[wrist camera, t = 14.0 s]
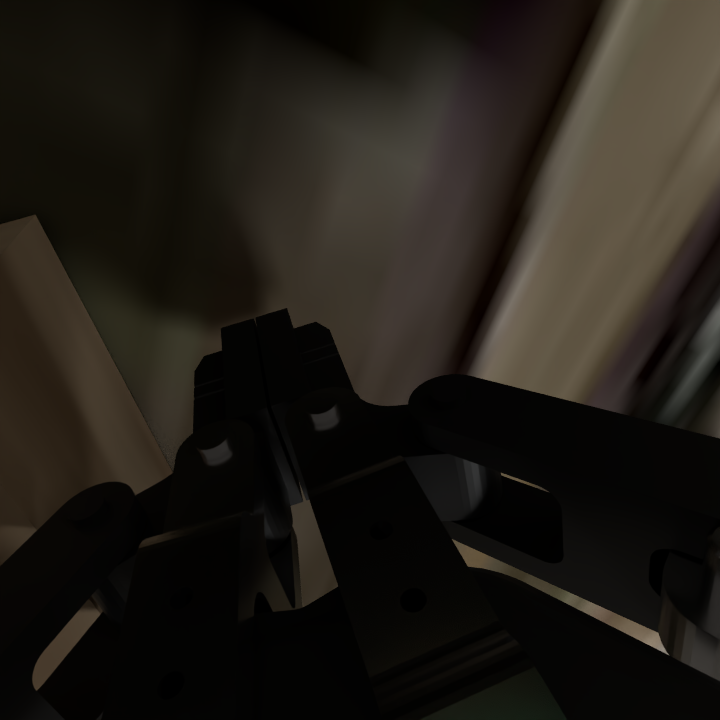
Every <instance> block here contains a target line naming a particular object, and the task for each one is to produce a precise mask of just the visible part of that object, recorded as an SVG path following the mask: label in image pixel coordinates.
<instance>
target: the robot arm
mask: <svg viewBox="0 0 720 720" xmlns="http://www.w3.org/2000/svg"><path fill="white" fill-rule="evenodd" d="M256 324H257V326H256ZM221 339H222V351H219V352H216V353H213V354H210V355H206V356H204V357H203V359H202V360H201V362H200V364H199V365H198V367H197V368H196V370H195V375H194V386H195V388H194V398H195V400H194V416H193V434H191V435H190V436H189V437H188V438H187V439H186V440H185V441H184V442H183V443H182V445H181V446H180V447H179V449H178V451H177V454H176V459H175V465H174V470H173V473H172V474H171V475H169V476H168V477H166V478H165V479H163V480H162V481H160V482H158V483H156V484H155V485H153V486H151V487H149V488H147V489H146V490H144V491H142V492H140V493H138V494H137V495H135V493H134V492H133V490H132V489H131V487H130V486H129V485H127V484H125V483H122V482H116V481H115V482H105V483H101V484H97V485H94V486H92V487H89V488H87V489H85V490H83V491H81V492H80V493H78V494H77V495H75V496H74V497H72V498H71V499H69V500H68V501H67V502H66V503H65V504H64V505H63V506H61V507H60V508H59V509H58V510H57V511H56V512H55V513H54V514H53V515H52V516H51V517H50V518H49V519H48V520H47V521H46V522H45V523H44V524H43V525H42V526H41V527H40V528H39V529H38V530H37V531H36V532H35V533H34V534H33V535H32V536H31V537H30V538H29V539H28V540H27V541H25V542H24V543H23V544H22V545H21V546H20V547H19V548H18V549H17V550H16V551H15V552H14V553H13V554H12V555H11V556H10V557H9V558H8V559H7V560H6V561H5V562H4V563H3V564H2V565H1V566H0V720H720V439H719V438H715V437H711V436H707V435H703V434H699V433H695V432H691V431H687V430H683V429H680V428H676V427H672V426H668V425H664V424H660V423H656V422H652V421H648V420H644V419H640V418H636V417H632V416H628V415H624V414H620V413H616V412H612V411H608V410H604V409H600V408H596V407H592V406H588V405H584V404H580V403H576V402H572V401H568V400H564V399H560V398H556V397H552V396H548V395H544V394H540V393H536V392H532V391H528V390H524V389H520V388H516V387H512V386H508V385H504V384H500V383H496V382H492V381H488V380H484V379H480V378H476V377H472V376H468V375H460V374H450V375H443V376H439V377H435V378H433V379H430V380H428V381H426V382H424V383H423V384H421V385H419V386H418V387H417V388H416V389H415V390H414V391H413V392H412V394H411V396H410V398H409V401H408V405H398V406H379V405H374V404H370V403H367V402H365V401H363V400H362V399H360V397H359V396H358V394H356V393H355V392H354V390H353V387H352V385H351V382H350V380H349V377H348V375H347V372H346V370H345V367H344V365H343V362H342V360H341V357H340V355H339V353H338V350H337V347H336V345H335V343H334V340H333V337H332V335H331V332H330V330H329V329H327V328H326V327H324V326H322V325H321V324H319V323H317V322H314V323H310V324H307V325H304V326H301V327H297V328H293V325H292V322H291V319H290V316H289V313H288V310H287V308H285V309H282V310H279V311H276V312H272V313H269V314H266V315H262V316H259V317H256V323H255V321H254V319H249V320H246V321H243V322H240V323H236V324H233V325H230V326H226V327H223V328H221ZM501 473H504V474H507V475H510V476H512V477H515V478H518V479H521V480H524V481H527V482H529V483H532V484H535V485H538V486H540V487H542V488H544V489H546V490H547V491H549V492H550V493H549V492H546V491H543V490H540V489H538V488H535V487H532V486H529V485H526V484H524V483H521V482H518V481H515V480H512V479H509V478H507V477H504V476H501ZM299 482H300V484H299ZM300 485H301V487H302V490H303V493H304V495H305V498H306V500H310V503H311V506H312V509H313V512H314V515H315V518H316V521H317V524H318V527H319V530H320V533H321V536H322V539H323V542H324V545H325V548H326V550H327V553H328V556H329V559H330V562H331V565H332V568H333V571H334V574H335V577H336V580H337V583H338V587H337V588H335V589H333V590H332V591H330V592H328V593H327V594H325V595H324V596H322V597H320V598H319V599H317V600H315V601H314V602H312V603H310V604H309V605H307V606H305V607H303V605H302V593H301V580H300V568H299V556H298V543H297V536H296V534H295V531H294V529H293V526H292V524H293V519H292V513H291V507H290V506H291V505H294V504H298V503H301V502H303V499H302V494H301V489H300ZM452 539H453V540H456V541H458V542H460V543H462V544H464V545H467V546H469V547H471V548H473V549H475V550H478V551H480V552H482V553H484V554H486V555H489V556H491V557H493V558H495V559H497V560H500V561H502V562H504V563H506V564H508V565H511V566H513V567H515V568H517V569H519V570H522V571H524V572H526V573H528V574H530V575H533V576H535V577H537V578H539V579H541V580H544V581H546V582H548V583H550V584H552V585H555V586H557V587H559V588H561V589H563V590H566V591H568V592H570V593H572V594H574V595H577V596H579V597H581V598H583V599H585V600H588V601H590V602H592V603H594V604H596V605H599V606H601V607H603V608H605V609H607V610H610V611H612V612H614V613H616V614H618V615H621V616H623V617H625V618H627V619H629V620H632V621H634V622H636V623H638V624H640V625H643V626H645V627H647V628H649V629H651V630H654V631H656V632H658V633H659V636H660V639H661V642H662V644H663V646H664V648H665V650H666V651H667V653H668V654H669V655H670V656H669V655H667V654H665V653H663V652H661V651H659V650H657V649H655V648H653V647H651V646H649V645H647V644H645V643H643V642H641V641H639V640H637V639H635V638H633V637H631V636H629V635H628V634H626V633H624V632H622V631H620V630H618V629H616V628H614V627H612V626H610V625H608V624H606V623H604V622H602V621H600V620H598V619H596V618H594V617H592V616H590V615H588V614H586V613H584V612H582V611H580V610H578V609H576V608H574V607H572V606H570V605H568V604H566V603H564V602H562V601H560V600H558V599H556V598H554V597H552V596H550V595H548V594H546V593H544V592H542V591H540V590H538V589H536V588H534V587H533V586H531V585H529V584H527V583H525V582H522V581H520V580H518V579H516V578H513V577H511V576H508V575H505V574H502V573H499V572H495V571H491V570H487V569H482V568H474V567H468V566H467V564H466V563H465V561H464V559H463V558H462V556H461V554H460V553H459V551H458V549H457V547H456V546H455V544H454V542H453V541H452ZM91 596H92V598H93V599H94V600H95V602H96V603H97V604H98V605H99V607H100V608H101V609H102V611H103V612H102V613H101V614H100V615H99V617H98V618H97V619H96V620H95V622H94V623H93V624H92V625H91V626H90V628H89V629H88V630H87V631H86V632H85V634H84V635H83V636H82V637H81V639H80V640H79V641H78V642H77V643H76V645H75V646H74V647H73V648H72V649H71V651H70V652H69V653H68V654H67V656H66V657H65V658H64V659H63V660H62V662H61V663H60V664H59V665H58V667H57V668H56V669H55V670H54V671H53V673H52V674H51V675H50V676H49V677H48V679H47V680H46V681H45V682H44V684H43V685H42V686H41V687H40V688H39V689H38V690H37V691H36V689H35V688H34V686H33V681H32V678H33V671H34V668H35V665H36V663H37V661H38V659H39V657H40V656H41V654H42V653H43V652H44V650H45V649H46V648H47V647H48V646H49V645H50V643H51V642H52V641H53V640H54V639H55V638H56V636H57V635H58V634H59V633H60V632H61V631H62V629H63V628H64V627H65V626H66V625H67V624H68V622H69V621H70V620H71V619H72V618H73V617H74V615H75V614H76V613H77V612H78V611H79V610H80V608H81V607H82V606H83V605H84V604H85V603H86V601H87V600H88V599H89V598H90V597H91Z"/></svg>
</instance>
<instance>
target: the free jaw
mask: <svg viewBox="0 0 720 720" xmlns="http://www.w3.org/2000/svg"><path fill="white" fill-rule="evenodd" d="M172 473H173V472H172V470H171V468H170V466H169V465H168V463H167V461H166V459H165V457H164V455H163V453H162V451H161V450H160V448H159V446H158V444H157V442H156V440H155V438H154V436H153V435H152V433H151V431H150V429H149V427H148V425H147V423H146V421H145V420H144V418H143V416H142V414H141V412H140V410H139V408H138V406H137V404H136V403H135V401H134V399H133V397H132V395H131V393H130V391H129V389H128V388H127V386H126V384H125V382H124V380H123V378H122V376H121V374H120V373H119V371H118V369H117V367H116V365H115V363H114V361H113V359H112V358H111V356H110V354H109V352H108V350H107V348H106V346H105V344H104V342H103V341H102V339H101V337H100V335H99V333H98V331H97V329H96V327H95V326H94V324H93V322H92V320H91V318H90V316H89V314H88V312H87V311H86V309H85V307H84V305H83V303H82V301H81V299H80V297H79V296H78V294H77V292H76V290H75V288H74V286H73V284H72V282H71V280H70V279H69V277H68V275H67V273H66V271H65V269H64V267H63V265H62V264H61V262H60V260H59V258H58V256H57V254H56V252H55V250H54V249H53V247H52V245H51V243H50V241H49V239H48V237H47V235H46V234H45V232H44V230H43V228H42V226H41V224H40V222H39V220H38V218H37V217H36V215H32V216H28V217H25V218H21V219H18V220H14V221H10V222H7V223H3V224H0V566H1V565H2V564H3V563H4V562H5V561H6V560H7V559H8V558H9V557H10V556H11V555H12V554H13V553H14V552H15V551H16V550H17V549H18V548H19V547H20V546H21V545H22V544H23V543H24V542H25V541H27V540H28V539H29V538H30V537H31V536H32V535H33V534H34V533H35V532H36V531H37V530H38V529H39V528H40V527H41V526H42V525H43V524H44V523H45V522H46V521H47V520H48V519H49V518H50V517H51V516H52V515H53V514H54V513H55V512H56V511H57V510H58V509H59V508H60V507H61V506H63V505H64V504H65V503H66V502H67V501H68V500H69V499H71V498H72V497H74V496H75V495H77V494H78V493H80V492H81V491H83V490H85V489H87V488H89V487H92V486H94V485H97V484H101V483H105V482H115V481H116V482H122V483H125V484H127V485H129V486H130V487H131V489H132V490H133V492H134V493H135V495H137V494H138V493H140V492H142V491H144V490H146V489H147V488H149V487H151V486H153V485H155V484H156V483H158V482H160V481H162V480H163V479H165V478H166V477H168V476H169V475H171V474H172ZM102 612H103V611H102V609H101V608H100V607H99V605H98V604H97V603H96V602H95V600H94V599H93V598H92V596H91V597H90V598H89V599H88V600H87V601H86V603H85V604H84V605H83V606H82V607H81V608H80V610H79V611H78V612H77V613H76V614H75V615H74V617H73V618H72V619H71V620H70V621H69V622H68V624H67V625H66V626H65V627H64V628H63V629H62V631H61V632H60V633H59V634H58V635H57V636H56V638H55V639H54V640H53V641H52V642H51V643H50V645H49V646H48V647H47V648H46V649H45V650H44V652H43V653H42V654H41V656H40V657H39V659H38V661H37V663H36V665H35V668H34V671H33V678H32V681H33V686H34V688H35V689H36V691H37V690H38V689H39V688H40V687H41V686H42V685H43V684H44V682H45V681H46V680H47V679H48V677H49V676H50V675H51V674H52V673H53V671H54V670H55V669H56V668H57V667H58V665H59V664H60V663H61V662H62V660H63V659H64V658H65V657H66V656H67V654H68V653H69V652H70V651H71V649H72V648H73V647H74V646H75V645H76V643H77V642H78V641H79V640H80V639H81V637H82V636H83V635H84V634H85V632H86V631H87V630H88V629H89V628H90V626H91V625H92V624H93V623H94V622H95V620H96V619H97V618H98V617H99V615H100V614H101V613H102Z"/></svg>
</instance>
